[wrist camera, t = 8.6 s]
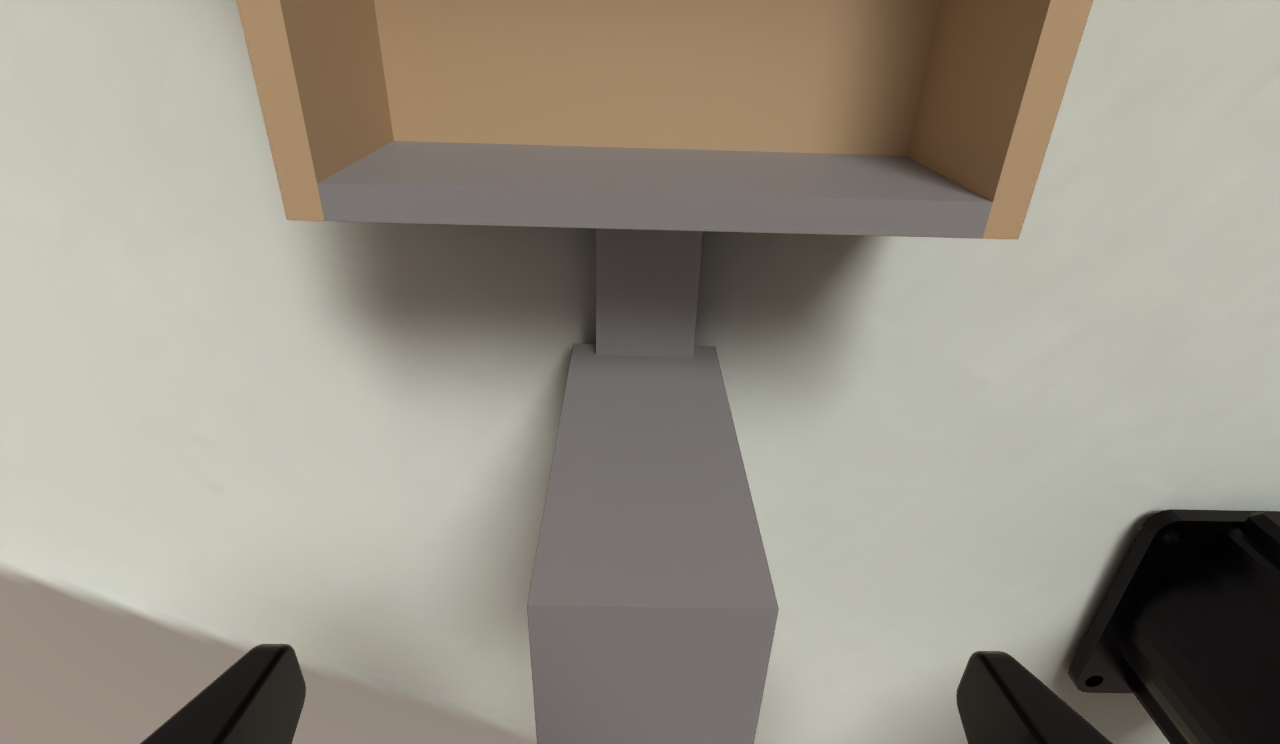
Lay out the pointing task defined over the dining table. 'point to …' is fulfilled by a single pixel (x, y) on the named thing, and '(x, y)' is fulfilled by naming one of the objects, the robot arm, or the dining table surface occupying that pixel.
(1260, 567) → the robot arm
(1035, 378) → the dining table surface
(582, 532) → the inner tray
